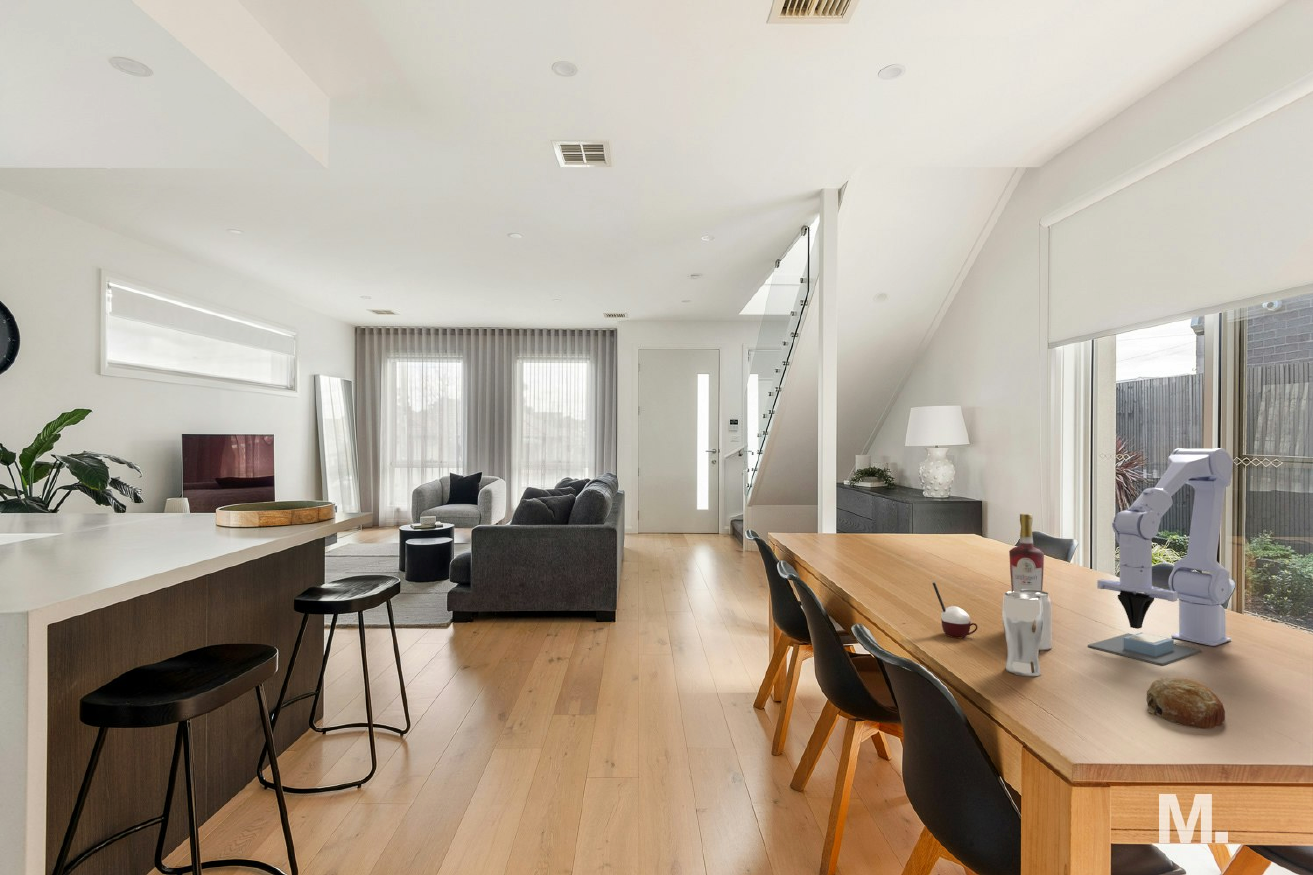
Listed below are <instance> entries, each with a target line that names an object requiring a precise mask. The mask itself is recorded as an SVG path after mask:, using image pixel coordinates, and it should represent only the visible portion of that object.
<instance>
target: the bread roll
mask: <svg viewBox="0 0 1313 875" xmlns="http://www.w3.org/2000/svg"><path fill="white" fill-rule="evenodd" d="M1146 706H1147V707H1148V713H1150V714H1153V715H1154V716H1157V717H1159V718H1161V719H1164V720H1167V721H1170V722H1172V723H1175V724H1177V725H1180V726H1185V727H1191V728H1196V729H1197V728H1200V729H1213V728H1216V727H1217V728H1218V727H1220V726H1222V725H1223V724H1224V722H1225V720H1226V710H1225V707H1224V705H1223V702H1222V701H1221V700H1220V698H1219V697H1218V696H1217V695H1216V694H1215V693H1214V692H1213V691H1212V690H1211V689H1210V688H1208V687H1207V686H1205V685H1203V684H1202V683H1200V682H1198V681H1196V680H1193V679H1189V678H1184V677H1178V676H1177V677H1176V676H1169V677H1168V676H1167V677H1162V678H1158V679H1156V680H1155V681H1153V682H1152V683H1151V685H1150V686H1149V687H1148V688H1147V691H1146Z"/></svg>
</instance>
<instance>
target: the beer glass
mask: <svg viewBox="0 0 1313 875" xmlns="http://www.w3.org/2000/svg"><path fill="white" fill-rule="evenodd" d="M1002 600H1003V601H1002V625H1003V629H1004V635H1005V640H1006V649H1007V656H1006V657H1007V658H1006V663H1005V670H1006V671H1007V672H1008V673H1010V674H1014V675H1017V676H1021V677H1027V678H1028V677H1032V678H1033V677H1034V678H1035V677H1039V676H1041V674H1042V671H1041V666H1040V661H1039V651H1040V650H1039V646H1040V641H1041V635H1042V629H1043V608H1042V597H1041V596H1039V595H1036V594H1032V593H1026V592H1012V591H1007V592H1003V598H1002Z"/></svg>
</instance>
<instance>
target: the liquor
mask: <svg viewBox="0 0 1313 875" xmlns="http://www.w3.org/2000/svg"><path fill="white" fill-rule="evenodd" d="M1033 518H1034V517H1033V514H1030V513H1020V514H1019V523H1020V534H1019V536H1020V537H1019V543H1018V544H1019V545H1018V546H1015V547H1013V548H1011V549H1009V551H1008V552H1009V573H1010V585H1011V592H1019V591H1020V590H1039V591H1043V584H1044V583H1043V582H1044V567H1045V566H1044V565H1045V562H1044V560H1045V553H1044V552H1043V551H1042V550H1041V549H1040V548H1037V547H1034V538H1033V536H1034V535H1033V528H1032V527H1033Z"/></svg>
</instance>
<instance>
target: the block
mask: <svg viewBox="0 0 1313 875" xmlns="http://www.w3.org/2000/svg"><path fill="white" fill-rule="evenodd" d="M1174 640H1175V638H1170V637H1169V638H1167V637H1164V636H1160V635H1155V634H1151V633H1146V632H1138V633H1135V634H1134V635H1131V636H1127V637H1124V649H1127V650H1131V651H1135V652H1139V653H1143V654H1147V655H1151V656H1155V657H1156V656H1159V655H1162V654H1165V653H1168V652H1171V651H1174V644H1175V642H1174Z"/></svg>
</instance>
